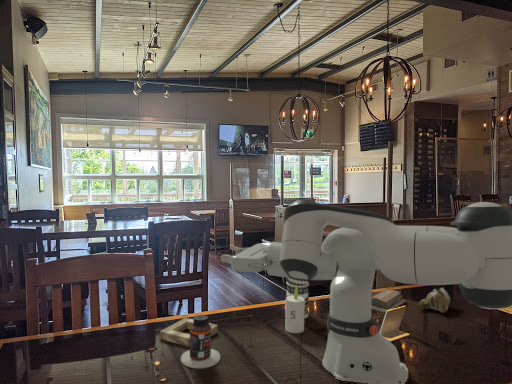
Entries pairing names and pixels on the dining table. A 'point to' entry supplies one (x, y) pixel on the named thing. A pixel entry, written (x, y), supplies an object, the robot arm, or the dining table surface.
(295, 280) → the decorative candle
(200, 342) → the supplement bottle
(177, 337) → the square frame
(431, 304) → the ceramic sculpture
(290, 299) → the candle
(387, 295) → the packaged product
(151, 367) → the dining table surface
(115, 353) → the dining table surface
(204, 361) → the coaster
